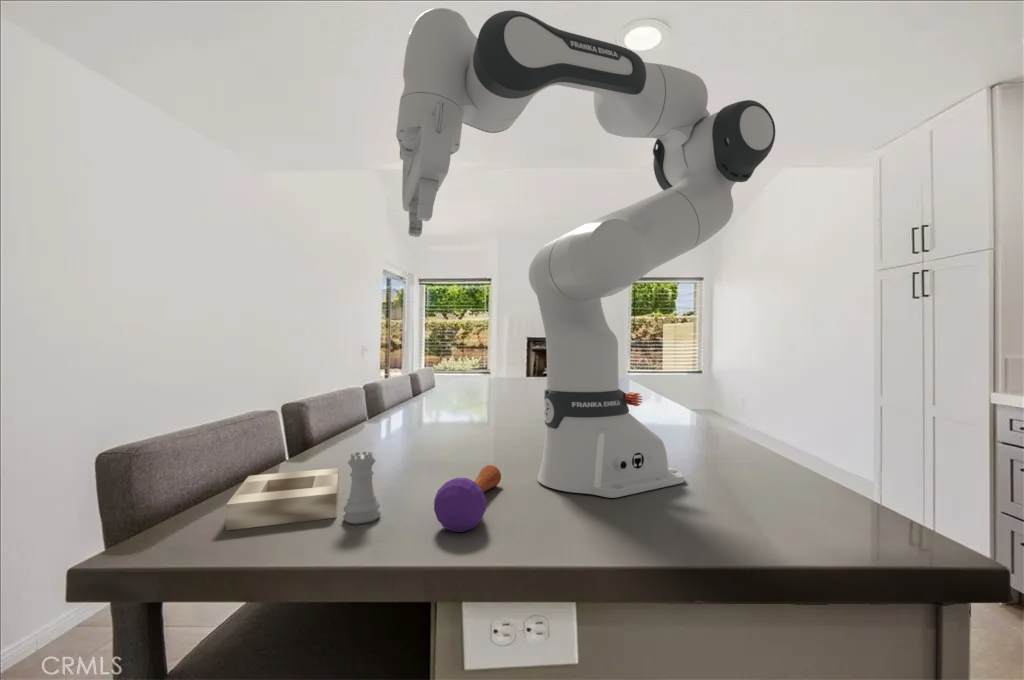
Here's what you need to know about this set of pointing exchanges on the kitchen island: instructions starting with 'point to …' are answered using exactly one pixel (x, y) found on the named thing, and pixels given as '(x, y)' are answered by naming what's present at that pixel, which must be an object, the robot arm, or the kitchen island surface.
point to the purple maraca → (464, 500)
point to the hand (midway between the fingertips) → (419, 227)
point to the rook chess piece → (361, 491)
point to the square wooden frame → (284, 499)
